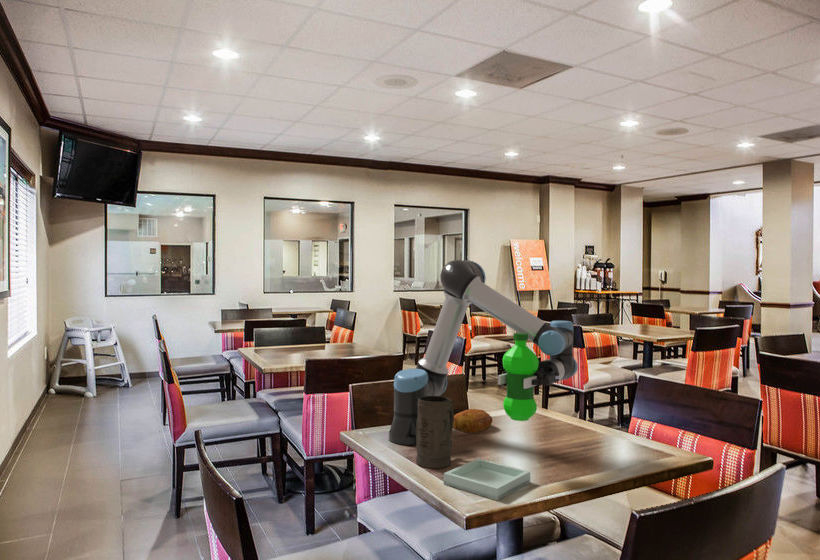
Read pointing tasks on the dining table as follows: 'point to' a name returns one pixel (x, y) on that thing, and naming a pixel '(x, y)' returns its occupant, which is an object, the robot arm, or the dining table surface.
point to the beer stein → (434, 431)
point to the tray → (487, 478)
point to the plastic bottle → (519, 379)
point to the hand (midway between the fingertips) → (511, 381)
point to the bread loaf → (472, 420)
